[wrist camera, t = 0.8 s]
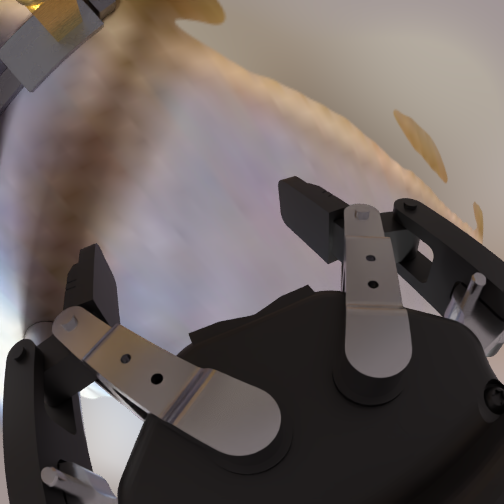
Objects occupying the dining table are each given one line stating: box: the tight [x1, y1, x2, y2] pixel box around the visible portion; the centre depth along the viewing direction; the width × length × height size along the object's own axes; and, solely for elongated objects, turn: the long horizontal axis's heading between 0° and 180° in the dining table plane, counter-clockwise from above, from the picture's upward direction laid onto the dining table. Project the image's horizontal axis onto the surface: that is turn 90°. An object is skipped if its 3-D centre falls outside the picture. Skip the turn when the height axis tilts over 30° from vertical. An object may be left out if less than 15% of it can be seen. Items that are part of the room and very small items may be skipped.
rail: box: [0, 0, 116, 115], centre depth 20 cm, size 26×4×4 cm, turn 125°
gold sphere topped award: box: [0, 0, 104, 92], centre depth 14 cm, size 10×7×18 cm
